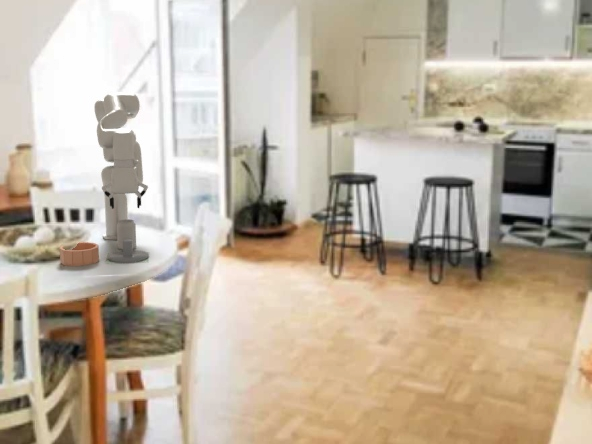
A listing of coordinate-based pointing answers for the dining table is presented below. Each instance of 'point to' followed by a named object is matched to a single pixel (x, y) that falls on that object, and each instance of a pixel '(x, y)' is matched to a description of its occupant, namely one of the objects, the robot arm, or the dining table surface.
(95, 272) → the dining table surface
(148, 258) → the mat
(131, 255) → the lid
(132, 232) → the can
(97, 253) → the bowl
